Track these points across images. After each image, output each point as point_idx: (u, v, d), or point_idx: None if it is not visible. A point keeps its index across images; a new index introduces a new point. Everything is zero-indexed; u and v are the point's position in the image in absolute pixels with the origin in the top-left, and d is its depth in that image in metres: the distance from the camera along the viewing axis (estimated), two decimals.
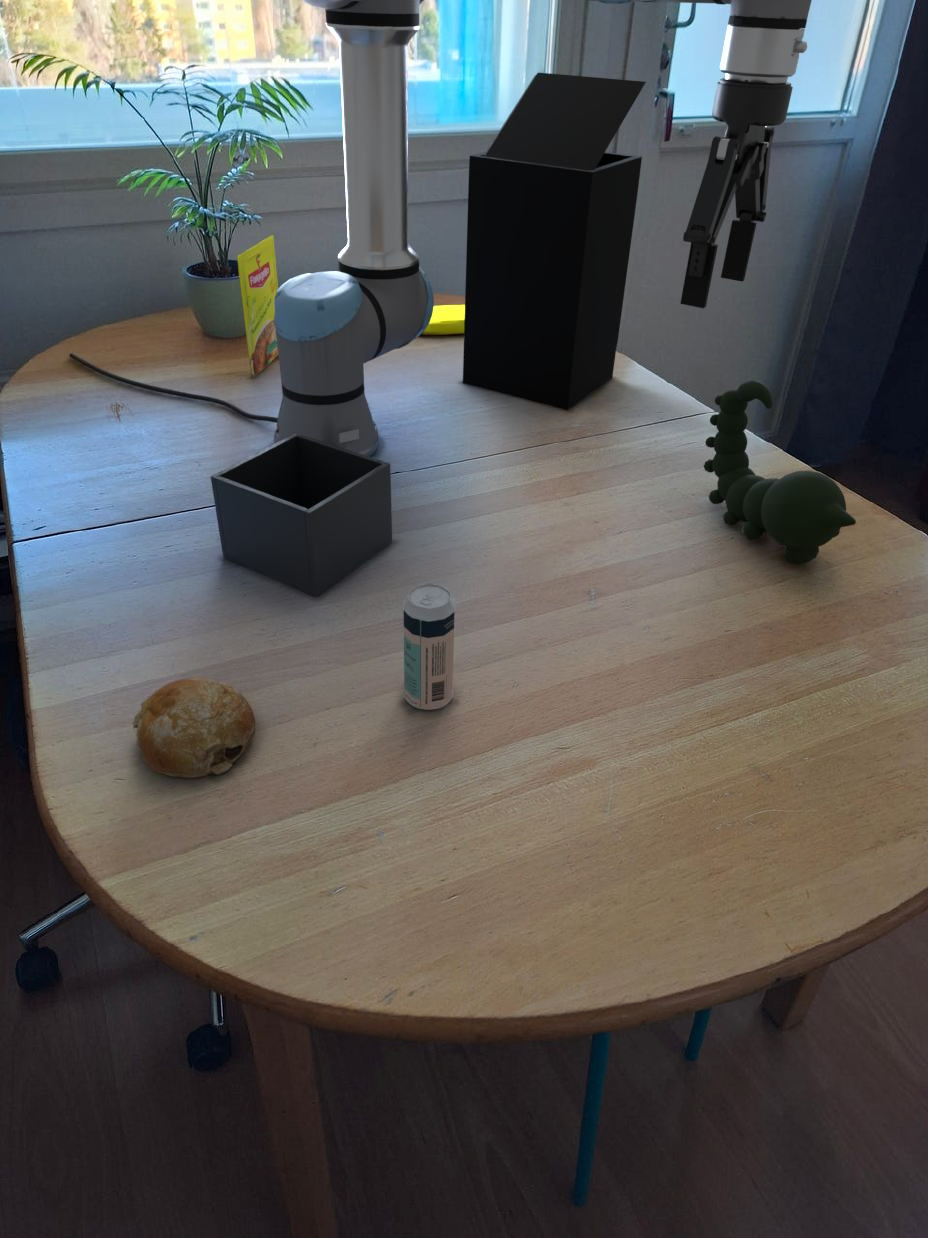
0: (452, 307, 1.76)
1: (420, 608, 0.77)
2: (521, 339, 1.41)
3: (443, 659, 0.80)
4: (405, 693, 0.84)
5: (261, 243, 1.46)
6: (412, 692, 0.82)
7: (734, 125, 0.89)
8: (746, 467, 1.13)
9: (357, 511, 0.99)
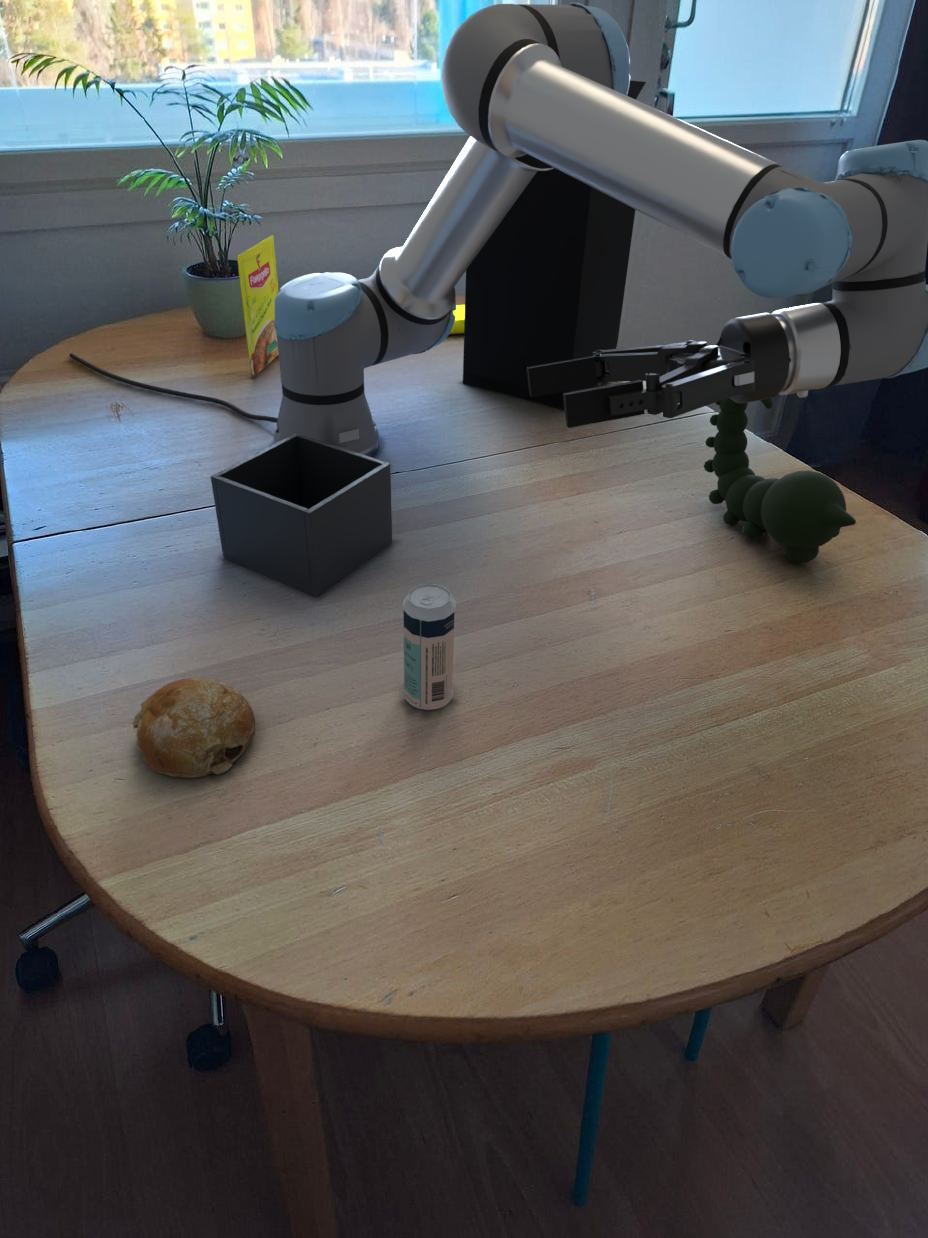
0: None
1: (420, 608, 0.77)
2: (521, 339, 1.41)
3: (443, 659, 0.80)
4: (405, 693, 0.84)
5: (261, 243, 1.46)
6: (412, 692, 0.82)
7: None
8: (746, 467, 1.13)
9: (357, 511, 0.99)
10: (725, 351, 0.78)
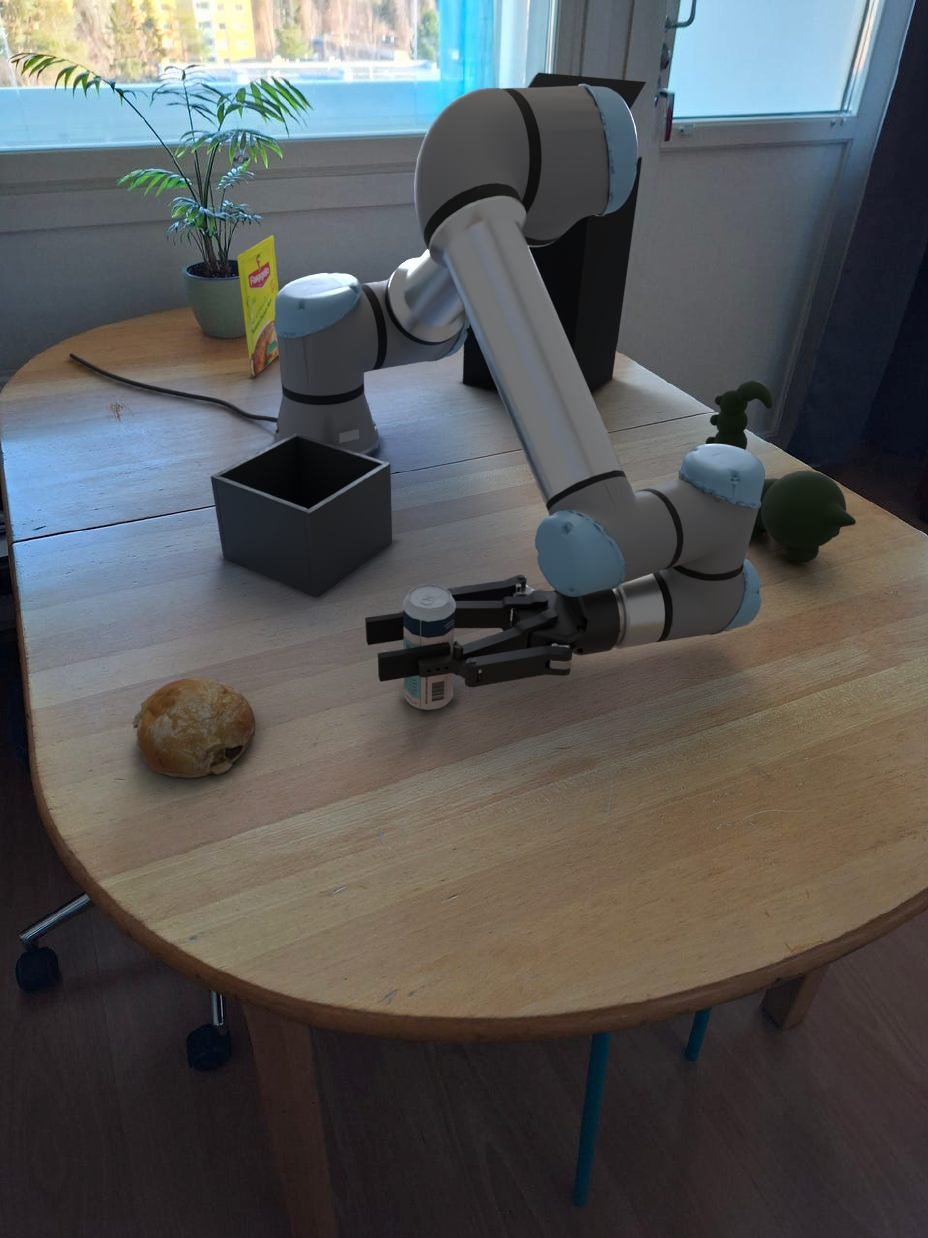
0: None
1: (420, 608, 0.77)
2: None
3: None
4: (405, 693, 0.84)
5: (261, 243, 1.46)
6: (412, 692, 0.82)
7: (584, 640, 0.81)
8: None
9: (357, 511, 0.99)
10: (564, 611, 0.83)
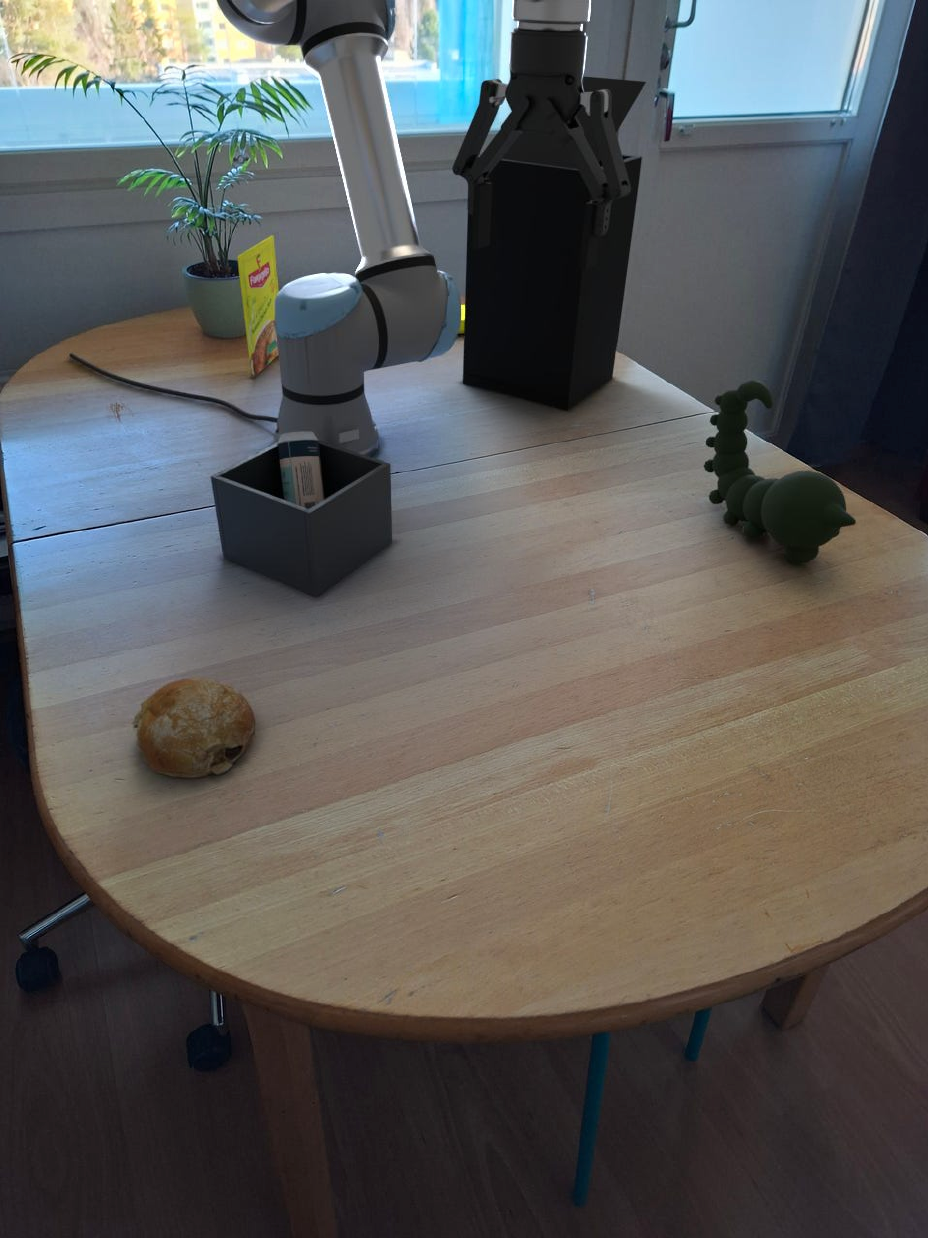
0: None
1: (288, 434, 1.02)
2: (521, 339, 1.41)
3: (311, 480, 1.02)
4: None
5: (261, 243, 1.46)
6: None
7: None
8: (746, 467, 1.13)
9: (357, 511, 0.99)
10: None
